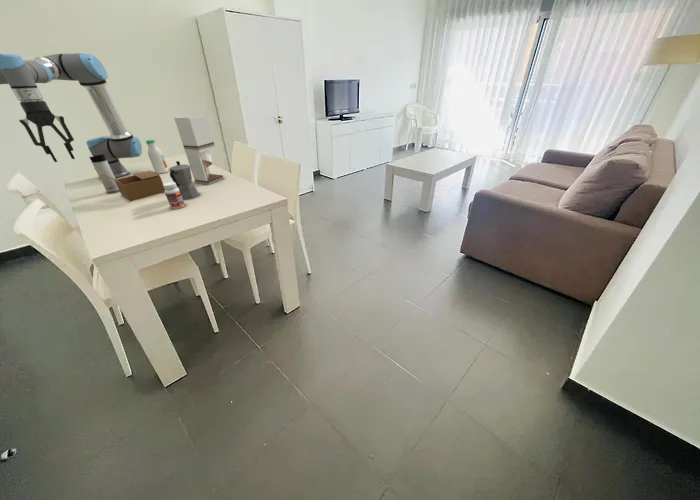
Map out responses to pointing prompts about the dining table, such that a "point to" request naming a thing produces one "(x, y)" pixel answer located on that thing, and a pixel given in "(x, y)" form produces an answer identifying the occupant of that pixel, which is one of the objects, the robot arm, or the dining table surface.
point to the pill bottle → (173, 195)
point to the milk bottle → (156, 157)
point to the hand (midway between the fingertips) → (64, 159)
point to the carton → (140, 185)
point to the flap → (107, 175)
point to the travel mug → (103, 166)
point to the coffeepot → (183, 180)
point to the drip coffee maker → (197, 146)
